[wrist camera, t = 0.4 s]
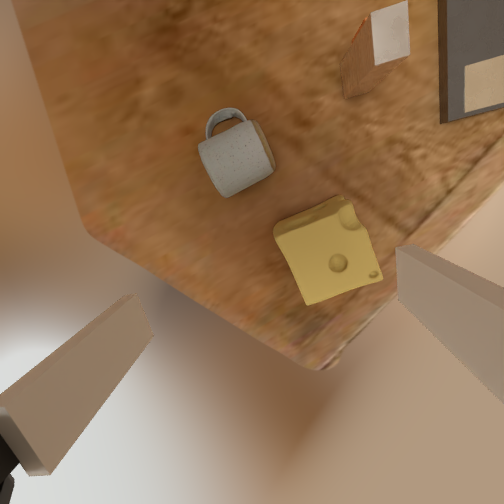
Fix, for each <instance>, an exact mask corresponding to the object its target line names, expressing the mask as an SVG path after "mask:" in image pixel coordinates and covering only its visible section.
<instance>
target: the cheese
mask: <svg viewBox="0 0 504 504" xmlns="http://www.w3.org/2000/svg"><path fill="white" fill-rule="evenodd" d="M273 236H274V239H275V241H276V243H277V244H278V246H279V248H280V250H281V251H282V253H283V255H284V257H285V259H286V261H287V262H288V264H289V267H290V269H291V271H292V273H293V276H294V278H295V280H296V282H297V285H298V287H299V289H300V292H301V294H302V296H303V299H304V301H305V303H306V305H311V304H315V303H318V302H321V301H323V300H326V299H328V298H331V297H333V296H336V295H338V294H341V293H344V292H346V291H349V290H352V289H355V288H358V287H361V286H364V285H368V284H371V283H375V282H378V281H381V280H383V276H382V273H381V270H380V267H379V264H378V262H377V259H376V256H375V253H374V250H373V247H372V245H371V241H370V238H369V235H368V232H367V230H366V228H365V227H364V226H363V225H362V224H361V223H360V222H359V220H358V219H357V216H356V214H355V210H354V207H353V204H352V202H351V201H350V200H348V199H346V200H345V198H344V196H343V195H337V196H334V197H332V198H330V199H328V200H326V201H325V202H323V203H321V204H319V205H317V206H315V207H312V208H310V209H307V210H305V211H303V212H300V213H298V214H296V215H293V216H291V217H289V218H286V219H284V220H281V221H279V222H277V223H276V225H275V226H274V228H273Z"/></svg>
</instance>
